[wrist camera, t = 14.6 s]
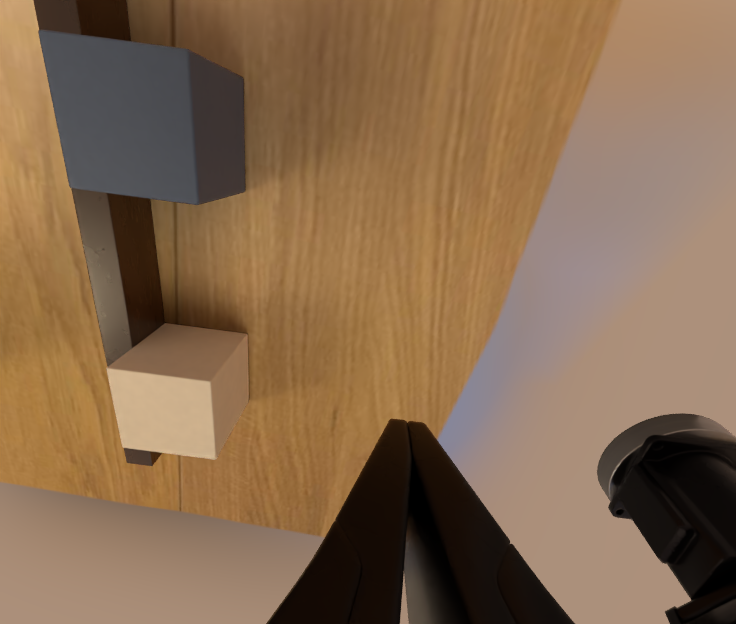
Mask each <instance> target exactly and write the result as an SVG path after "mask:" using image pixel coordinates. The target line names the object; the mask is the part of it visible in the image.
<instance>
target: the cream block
mask: <svg viewBox="0 0 736 624" xmlns="http://www.w3.org/2000/svg"><path fill="white" fill-rule="evenodd" d="M107 374H108V379H109V384H110V389H111V394H112V399H113V404H114V408H115V413H116V418H117V423H118V428H119V433H120V438H121V443H122V447H123V448H130V449H138V450H145V451H153V452H160V453H168V454H176V455H183V456H191V457H199V458H206V459H214V460H215V459H216V458H217V457H218V455H219V453H220V451H221V449H222V448H223V446H224V444H225V442H226V441H227V439H228V437H229V435H230V434H231V432H232V430H233V428H234V426H235V425H236V423H237V421H238V419H239V418H240V416H241V414H242V412H243V411H244V409H245V407H246V405H247V403H248V402H249V377H248V334H245V333H238V332H230V331H222V330H215V329H207V328H199V327H192V326H184V325H176V324H169V323H165V324H163V325H162V326H161V327H159V328H158V329H157V330H156V331H154V332H153V333H152V334H150V335H149V336H148V337H146V338H145V339H144V340H142V341H141V342H140V343H138V344H137V345H136V346H135V347H133V348H132V349H131V350H129V351H128V352H127V353H125V354H124V355H123V356H121V357H120V358H119V359H117V360H116V361H115V362H114V363H112V364H111V365H110V366H108V367H107Z"/></svg>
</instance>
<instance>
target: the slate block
mask: <svg viewBox="0 0 736 624" xmlns="http://www.w3.org/2000/svg"><path fill="white" fill-rule="evenodd" d="M39 37H40V42H41V47H42V52H43V57H44V62H45V67H46V72H47V77H48V82H49V87H50V92H51V97H52V102H53V107H54V112H55V117H56V122H57V127H58V132H59V137H60V142H61V147H62V151H63V156H64V161H65V166H66V171H67V176H68V181H69V186H70V187H71V188H73V189H81V190H88V191H96V192H103V193H111V194H118V195H126V196H133V197H141V198H149V199H156V200H164V201H171V202H179V203H186V204H194V205H199V204H203V203H207V202H210V201H214V200H218V199H221V198H225V197H229V196H232V195H236V194H240V193H243V192H245V146H244V81H243V77H241V76H239V75H237V74H235V73H233V72H231V71H229V70H227V69H225V68H223V67H222V66H220V65H218V64H216V63H214V62H212V61H210V60H208V59H206V58H204V57H202V56H200V55H198V54H196V53H194V52H192V51H190V50H189V49H186V48H178V47H170V46H163V45H155V44H148V43H140V42H133V41H125V40H118V39H110V38H103V37H95V36H88V35H80V34H72V33H65V32H57V31H50V30H42V29H41V30H39Z"/></svg>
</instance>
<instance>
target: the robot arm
mask: <svg viewBox="0 0 736 624" xmlns="http://www.w3.org/2000/svg"><path fill="white" fill-rule="evenodd" d="M608 508H609V510H610V512H611V513H612V515H613V516H615V517H618V518H626V519H632V520H633V521H634V523H635V524H636V526H637V527H638V529H639V530H640V532H641V533H642V535H643V536H644V537H645V539H646V541H647V542H648V544H649V545H650V547H651V548H652V550H653V551H654V553H655V554H656V556H657V557H658V559H659V560H660V561H661V562H662V563H665V564H668V566H669V567H670V569H671V570H672V572H673V573H674V575H675V576H676V578H677V579H678V581H679V582H680V584H681V585H682V587H683V588H684V590H685V591H686V593H687V594H688V595H689V597H690V598H691V601H690V602H688V603H686V604H684V605H682V606H680V607H678V608H676V607H672V608H670V609H669V610H667V611H665V613H666V616H667V618H668V620H669V622H670V624H736V445H733V444H725V443H718V442H710V441H702V440H695V439H687V438H679V437H672V436H664V435H651V436H649V437H648V438H647V439H646V440H645V441H644V443H643V445H642V447H641V449H640V450H639V452H638V454H637V456H636V458H635V459H634V461H633V463H632V465H631V467H630V468H629V470H628V472H627V474H626V476H625V477H624V479H623V481H622V483H621V485H620V486H619V488H618V490H617V492H616V494H615V495H614V497H613V499H612V501H611V503H610V504H609V507H608ZM403 574H405V584H406V585H405V586H406V595H407V608H408V619H409V624H575V623H574V622H573V621H572V620H571V619H570V617H569V616H568V615H567V614H566V612H565V611H564V610H563V609H562V608H561V606H560V605H559V604H558V603H557V602H556V600H555V599H554V598H553V597H552V596H551V594H550V593H549V592H548V591H547V590H546V588H545V587H544V586H543V584H542V583H541V582H540V580H539V579H538V578H537V577H536V575H535V574H534V572H533V571H532V570H531V569H530V567H529V566H528V565H527V563H526V562H525V561H524V559H523V558H522V556H521V555H520V554H519V552H518V551H517V550H516V548H515V547H514V545H513V544H510V540H509V539H508V537H507V536H506V535H505V533H504V532H503V531H502V529H501V528H500V526H499V525H498V524H497V522H496V521H495V520H494V518H493V517H492V516H491V514H490V513H489V512H488V510H487V509H486V507H485V506H484V504H483V503H482V502H481V500H480V499H479V498H478V496H477V495H476V493H475V492H474V491H473V489H472V488H471V486H470V485H469V484H468V482H467V481H466V480H465V478H464V477H463V475H462V474H461V473H460V471H459V470H458V469H457V467H456V466H455V464H454V463H453V462H452V460H451V459H450V457H449V456H448V455H447V453H446V452H445V451H444V449H443V448H442V446H441V445H440V444H439V442H438V441H437V440H436V438H435V437H434V435H433V434H432V433H431V431H430V430H429V429H428V427H427V426H426V425H425V424H424V423H422V422H414V421H409V422H408V423H407V422H406V421H405V420H399V419H390V420H389V422H388V424H387V426H386V428H385V429H384V431H383V433H382V435H381V437H380V439H379V440H378V442H377V444H376V446H375V448H374V450H373V451H372V453H371V455H370V457H369V459H368V461H367V462H366V464H365V466H364V468H363V470H362V472H361V473H360V475H359V477H358V479H357V481H356V483H355V484H354V486H353V488H352V490H351V492H350V494H349V495H348V497H347V499H346V501H345V503H344V505H343V506H342V508H341V510H340V512H339V514H338V516H337V517H336V520H335V521H334V522H333V524H332V526H331V528H330V530H329V532H328V533H327V535H326V537H325V539H324V540H323V542H322V544H321V545H320V547H319V549H318V550H317V552H316V554H315V555H314V557H313V559H312V560H311V562H310V563H309V565H308V566H307V568H306V569H305V571H304V572H303V574H302V575H301V577H300V578H299V579H298V581H297V582H296V584H295V585H294V587H293V588H292V589H291V591H290V592H289V593H288V595H287V596H286V597H285V599H284V600H283V602H282V603H281V604H280V606H279V607H278V608H277V610H276V611H275V612H274V614H273V615H272V617H271V618H270V619H269V621H268V622H267V623H266V624H400V612H401V599H402V587H403Z"/></svg>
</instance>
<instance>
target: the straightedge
mask: <svg viewBox="0 0 736 624" xmlns="http://www.w3.org/2000/svg"><path fill="white" fill-rule="evenodd" d="M34 5H35V10H36V15H37V20H38V25H39V30H41V29H42V30H50V31H57V32H65V33H72V34H80V35H88V36H95V37H103V38H110V39H118V40H125V41H131V39H130V31H129V23H128V14H127V6H126V0H34ZM72 193H73V198H74V203H75V208H76V213H77V218H78V223H79V228H80V233H81V238H82V243H83V248H84V253H85V258H86V263H87V268H88V273H89V277H90V282H91V287H92V292H93V297H94V302H95V307H96V312H97V317H98V322H99V327H100V332H101V337H102V342H103V347H104V352H105V357H106V362H107V367H108V366H110V365H111V364H112V363H114V362H115V361H116V360H117V359H119V358H120V357H121V356H123V355H124V354H125V353H127V352H128V351H129V350H131V349H132V348H133V347H135V346H136V345H137V344H138V343H140V342H141V341H142V340H144V339H145V338H146V337H148V336H149V335H150V334H152V333H153V332H154V331H156V330H157V329H158V328H159V327H161V326H162V325H163V324H165V322H164V314H163V305H162V297H161V289H160V280H159V272H158V264H157V255H156V247H155V239H154V231H153V222H152V214H151V206H150V199H149V198H141V197H133V196H126V195H118V194H111V193H103V192H96V191H88V190H81V189H73V188H72ZM124 451H125V456H126V461H127V463H132V464H140V465H148V466H153V464H154V463H155V462H156V460H157V459H158V458H159V456H160V455H161V454H162V453H160V452H153V451H145V450H138V449H130V448H124Z"/></svg>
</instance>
